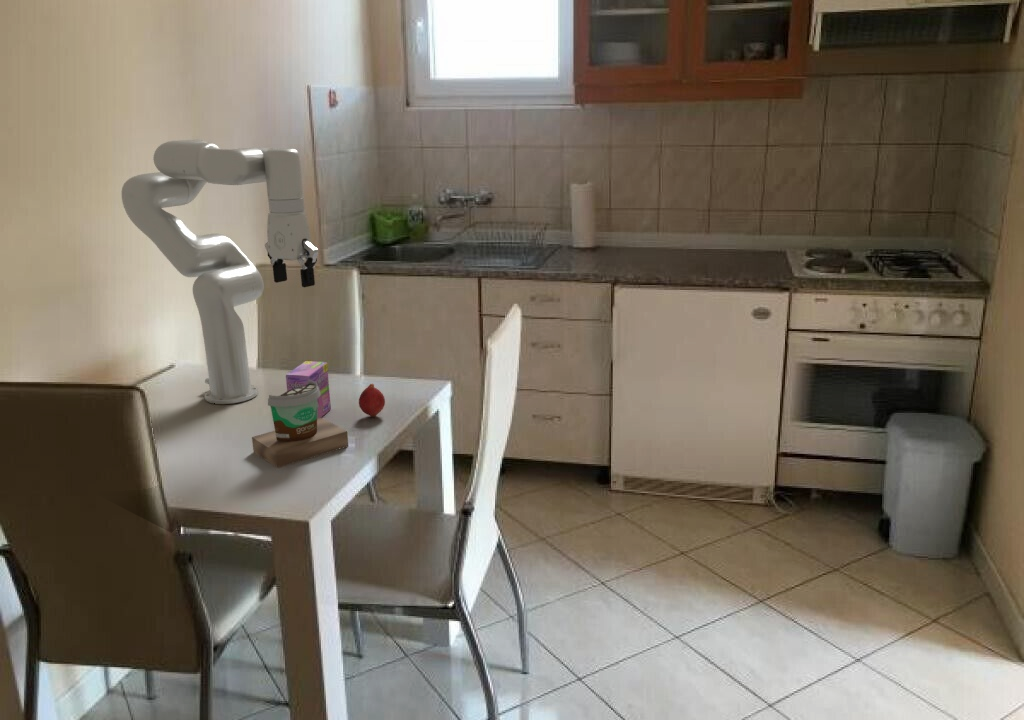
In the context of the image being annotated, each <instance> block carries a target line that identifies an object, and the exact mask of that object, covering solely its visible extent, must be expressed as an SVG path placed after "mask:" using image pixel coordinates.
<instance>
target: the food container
mask: <svg viewBox="0 0 1024 720" xmlns="http://www.w3.org/2000/svg"><path fill="white" fill-rule="evenodd" d="M320 395H321V394H320V390H319V387H318V386H317V383H315V382H314V381H311V380H308V385H305V386H303V387H300V388H295V389H291V390H289V391H285V392H284V393H282V394H280V395H272V394H268V398H267V406H268V407H270V410H271V416H272V421H273V427H274V431H275V433H276V439H277V440H278V441H287V442H290V441H300V440H305V439H308V438H310V437H313V436H314V435H315V434H316V433H317V399H318V398H319V397H320Z"/></svg>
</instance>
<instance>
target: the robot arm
mask: <svg viewBox="0 0 1024 720" xmlns="http://www.w3.org/2000/svg"><path fill="white" fill-rule="evenodd" d="M152 160H153V163H154V165H155V167H156V169H157V170H158V171H159V172H149V173H142V174H137V175H135V176H132V177H130V178H129V179H127V180H126V181H125V182H124V183H123V185H122V188H121V201H122V202H121V203H122V206H123V208H124V210H125V213H126V215H127V216H128V218H129V220H130V221H131V222H132V223H133V224H134V226H135V227H136V228H137V229H139V231H141V233H143V234H144V235H145V236H146V237H148V238H149V240H150V241H151V242H153V244H154V245H155V246H156V247H157V248H158V250H159V251H160V252H161V253H162V255H163V256H164V257H165V258H166V259H167V260H168V261H169V263H170V264H171V265H172V267H174V269H176V270H177V272H179V274H181V275H182V276H183V277H186V278H196V277H197V278H196V279H195V280H194V282H193V284H192V296H193V299H194V302H195V305H196V307H197V311H198V314H199V318H200V322H201V323H200V324H201V329H202V330H201V331H202V336H203V342H204V343H203V344H204V349H205V357H206V365H207V374H208V378H205V380H204V383H205V384H207V385H208V386H209V390H208V391H206V392H205V394H204V400H205V401H206V402H208V403H209V404H214V403H215V405H229V404H237V403H243V402H246V401H249V400H251V399H254V398H255V397H257V396H258V395H259V389H258V387H257V386H255V385H253V384H251V378H250V377H251V376H250V368H249V359H248V351H247V343H246V342H247V341H246V335H245V334H246V333H245V327H244V323H243V321H242V319H241V317H240V316H239V315H238V313H237V311H236V309H235V307H237V306H241V305H244V304H248V303H250V302H253V301H256V300H258V299H259V298H260V297H261V296H262V295H263V292H264V289H265V284H264V280H263V279H264V278H263V277H262V274H261V272H260V271H259V270H258V268H257V267H256V265H254V264H253V262H252V261H251V260H250V259H249V258H248V257H247V255H246V254H245V253H244V252H243V251H242V250H241V248H240V247H239V246H238V244H236V243H235V241H233V240H232V239H231V238H230V237H228V236H226V235H224V234H221V233H208V234H202V235H201V234H200V235H198V234H195V233H194V232H192V230H191V229H190V228H189V227H188V226H187V225H186V224H185V222H183V220H181V219H180V218H179V217H177V216H176V215H174V214H172V213H170V212H167V211H166V210H164V209H166V208H172V207H180V206H185V205H189V204H190V203H192V202H193V201H194V200H195V198H196V197H197V196H198V195H199V194H200V192H201V191H202V189H203V188H204V186H205V185H206V184H207V183H208V184H213V185H225V186H243V185H251V184H259V183H266V192H267V201H268V210H269V211H268V212H269V213H268V214H267V226H266V228H267V230H266V231H267V233H266V234H267V235H266V236H267V237H266V238H267V242H265V243H264V248H265V249H266V252H267V257H268V258H269V260H270V265H272V273H273V281H274V283H281V282H286V281H287V280H288V275H287V266H286V265H287V264H286V262H285V261H290V262H291V261H292V262H293V261H296V260H297V262H298V263H299V265H300V267H301V269H299V270H300V283H301V287H302V288H309V287H312V286H315V285H316V281H315V272H314V270H315V269H314V268H316V263H317V262H318V255H319V249H318V248H317V247H316V246H314V245H313V244H312V238H311V233H310V227H309V222H308V219H307V215H306V208H305V197H304V189H303V188H304V187H303V177H302V167H301V165H302V164H301V157H300V153H299V151H298V150H297V149H295V148H273V147H268V146H260V147H246V148H232V149H231V148H230V149H227V148H225V149H223V148H220V147H219V146H218V145H217V144H215V143H212V142H207V141H205V140H202V139H183V140H170V141H169V140H168V141H165V142H163V143H161V144H159V145H158V146H157V148H156V149H155V151H154V153H153V159H152ZM305 260H306V261H305Z"/></svg>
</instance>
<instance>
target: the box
mask: <svg viewBox="0 0 1024 720" xmlns="http://www.w3.org/2000/svg"><path fill="white" fill-rule="evenodd" d="M328 371H329V369H328V362H326V361H314V360H313V361H312V360H311V361H310V360H309V361H308V360H305V361H303V362H302V363H301V364H299V365H298V366H296V367H295V368H294V369H292V370H291V371H290V372H288V373H286V374H285V381H286V382H285V383H286V390H287V391H289V390H291V389H295V388H300V387H303V386H305V385H308V380H311V381H314V382H315V383H317V386H318V387H319V390H320V394H321V395H320V397H319V398H318V399H317V419H319V418H323V416H324V415H326V414H327V413H328V412H329V411H330V410H332V405H331V396H330V393H331V392H330V384H329V372H328ZM287 391H286V392H287Z"/></svg>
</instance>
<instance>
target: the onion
mask: <svg viewBox="0 0 1024 720" xmlns="http://www.w3.org/2000/svg"><path fill="white" fill-rule="evenodd" d="M385 405H386V399H385V396H384V394H383V393H382V392H381V390H379V389H378V388H377V387H375V384H374V383H370V384H369V385H368V386H367V387H366V388H365V389H363V390H362V392H361V394H360V396H359V398H358V407H359V408H360V410H361V411H362V412H363V413H364V414H366V415H368V416H370V417H371V418H375V417H377V416H378V414H379V413H381V412H382V411H383V409H384V407H385Z"/></svg>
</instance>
